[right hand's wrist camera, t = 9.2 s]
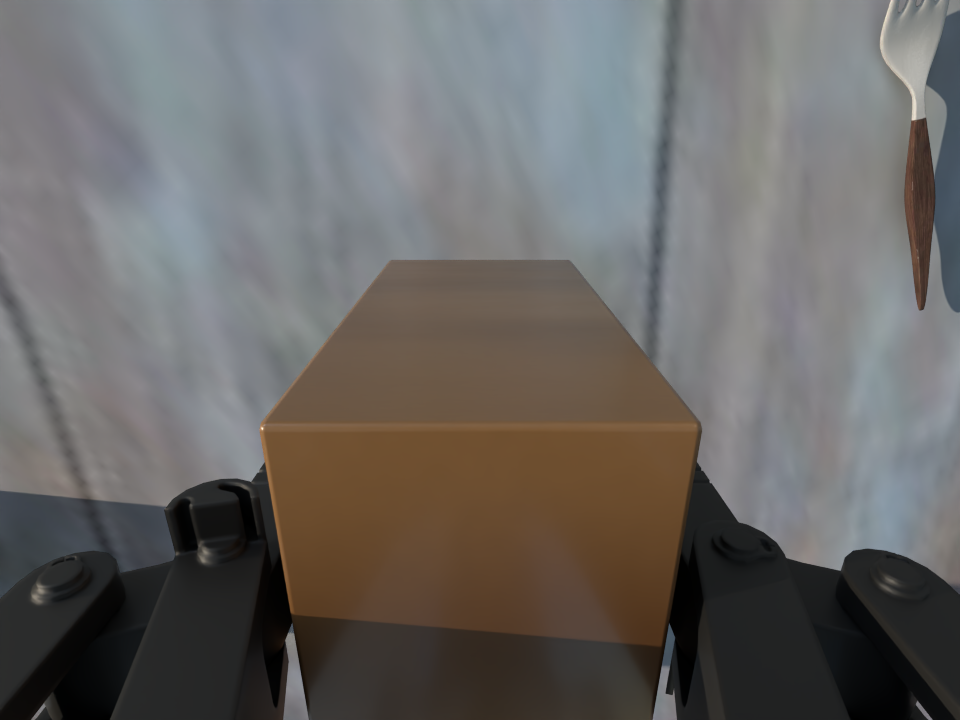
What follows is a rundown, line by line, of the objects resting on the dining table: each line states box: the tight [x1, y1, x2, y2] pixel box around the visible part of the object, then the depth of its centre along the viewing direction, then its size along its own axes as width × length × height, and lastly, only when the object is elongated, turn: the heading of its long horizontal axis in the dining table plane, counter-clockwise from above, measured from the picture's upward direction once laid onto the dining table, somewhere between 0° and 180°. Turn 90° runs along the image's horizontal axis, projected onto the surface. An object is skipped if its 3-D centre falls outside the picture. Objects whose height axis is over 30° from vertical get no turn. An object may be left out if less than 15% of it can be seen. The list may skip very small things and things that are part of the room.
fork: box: [880, 0, 949, 310], centre depth 24 cm, size 3×16×2 cm, turn 17°
